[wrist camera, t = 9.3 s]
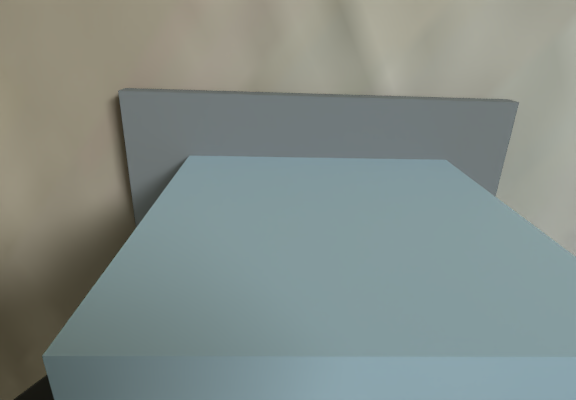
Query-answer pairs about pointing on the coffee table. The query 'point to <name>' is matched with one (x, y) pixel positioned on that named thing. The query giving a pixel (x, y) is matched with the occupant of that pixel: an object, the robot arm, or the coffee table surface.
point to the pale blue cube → (325, 291)
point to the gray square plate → (307, 131)
